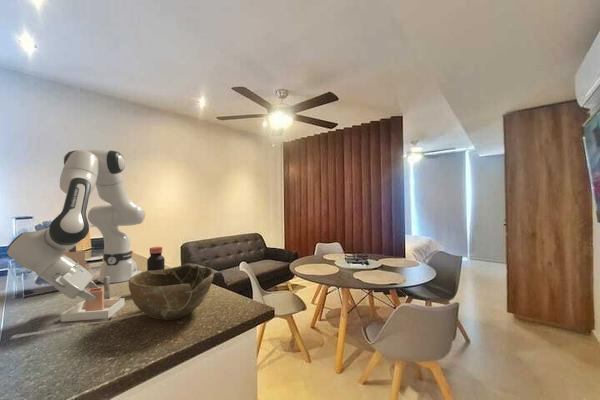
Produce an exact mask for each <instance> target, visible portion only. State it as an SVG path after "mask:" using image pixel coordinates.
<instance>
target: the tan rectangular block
mask: <svg viewBox="0 0 600 400" xmlns="http://www.w3.org/2000/svg"><path fill="white" fill-rule="evenodd" d="M63 254H64V255H65V256H67V257H68V258H70V259H75V260H77V261H78V262H79V263H78V264H79V265H81V266H82V267H83V268H85V269H86V263H85V262H86V251H85V250H83V249H77V245H75V246H74V247H73V248H72V249H70V250H68V251H66V252H64V253H63Z"/></svg>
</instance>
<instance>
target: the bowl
mask: <svg viewBox="0 0 600 400" xmlns="http://www.w3.org/2000/svg"><path fill="white" fill-rule="evenodd" d="M214 277H215V272H214V269H212V268H211V267H207V266H205V267H200V266H199V265H189V264H188V265H187V264H185V265H180V266H175V267H174V266H173V267H172V268H171V267H170V268H165V270H155V271H152V270H151V271H147V270H145V271H142V272H141V273H139V274H137V275H134V276H132V277H131V278H130V280H128V289H129V293H130V295H131V299H132V302H133V303H134V305H135V306H136V307H137V309H138V310H139V311H141V312H143V314H144V315H145V314H146V315H147V316H148V317H150V318H153V319H158V320H166V321H174V320H177V319H180V318H183V317H186V316H187V315H188V314H190V313H191V312H193V311H194V310H195V309H197V308H198V307H200V305H201V304H202V303H203V301H204V300H205V298H206V297H207V296H208V293H209V292H210V289H211V286H212V283H213V280H214Z"/></svg>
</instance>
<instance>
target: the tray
mask: <svg viewBox="0 0 600 400" xmlns="http://www.w3.org/2000/svg"><path fill="white" fill-rule="evenodd" d="M125 303H126V302H125V298H122V297H121V298H120V299H105V300H104V310H99V311H86V300H82V301H81V302H79V303H77V304H75V305H74V306H72V307H70V308H69V309H67V310H65V311H63V312H61V313H60V322H63V323H65V322H75V321H76V322H77V321H87V322H83V324H87V323H88V324H89V323H101V322H109V321H110V320H112V317H111V316H113V315H114V314H116V312H118V311H119V310H121V308H123V307H124V306H125ZM89 320H90V321H89ZM91 320H92V321H91Z"/></svg>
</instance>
